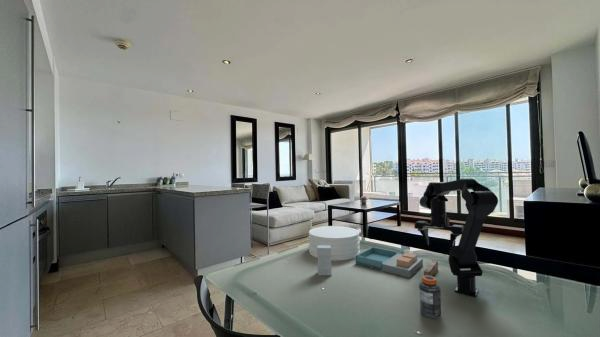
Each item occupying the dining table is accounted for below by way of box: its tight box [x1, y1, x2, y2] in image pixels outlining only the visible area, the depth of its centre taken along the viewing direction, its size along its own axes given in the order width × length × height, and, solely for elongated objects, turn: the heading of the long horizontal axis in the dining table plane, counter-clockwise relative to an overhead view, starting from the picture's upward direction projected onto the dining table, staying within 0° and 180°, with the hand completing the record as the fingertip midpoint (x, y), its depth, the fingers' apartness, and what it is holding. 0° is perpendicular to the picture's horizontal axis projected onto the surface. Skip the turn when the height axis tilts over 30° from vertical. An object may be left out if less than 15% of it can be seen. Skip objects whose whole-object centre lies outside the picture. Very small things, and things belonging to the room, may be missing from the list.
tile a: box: [397, 257, 412, 267], centre depth 113 cm, size 5×5×2 cm
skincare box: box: [317, 245, 333, 276], centre depth 112 cm, size 6×4×12 cm
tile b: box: [402, 252, 418, 263], centre depth 118 cm, size 5×5×2 cm
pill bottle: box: [418, 275, 442, 319], centre depth 80 cm, size 6×6×11 cm
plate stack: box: [308, 225, 361, 261], centre depth 142 cm, size 28×28×12 cm
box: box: [355, 246, 398, 271], centre depth 125 cm, size 18×13×4 cm
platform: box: [381, 253, 424, 278], centre depth 117 cm, size 18×12×3 cm, turn 138°
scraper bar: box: [423, 259, 439, 277], centre depth 109 cm, size 16×2×4 cm, turn 140°
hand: (439, 247), depth 110 cm, fingers open, 9 cm apart
